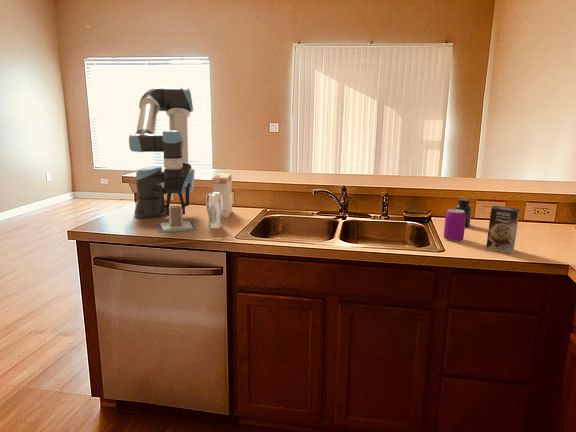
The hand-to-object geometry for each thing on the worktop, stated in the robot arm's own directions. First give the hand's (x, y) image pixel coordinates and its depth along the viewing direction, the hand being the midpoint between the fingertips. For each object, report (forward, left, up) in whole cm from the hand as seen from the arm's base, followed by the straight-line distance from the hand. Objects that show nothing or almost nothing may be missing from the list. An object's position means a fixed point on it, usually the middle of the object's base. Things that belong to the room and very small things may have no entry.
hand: (176, 222), depth 188 cm
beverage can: (+53, +103, -3) cm, 116 cm away
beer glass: (+4, +16, -3) cm, 17 cm away
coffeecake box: (-19, +25, -3) cm, 32 cm away
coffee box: (+70, +110, -3) cm, 130 cm away
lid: (0, 0, -2) cm, 2 cm away
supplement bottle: (+36, +123, -3) cm, 128 cm away
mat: (0, 0, -3) cm, 3 cm away
